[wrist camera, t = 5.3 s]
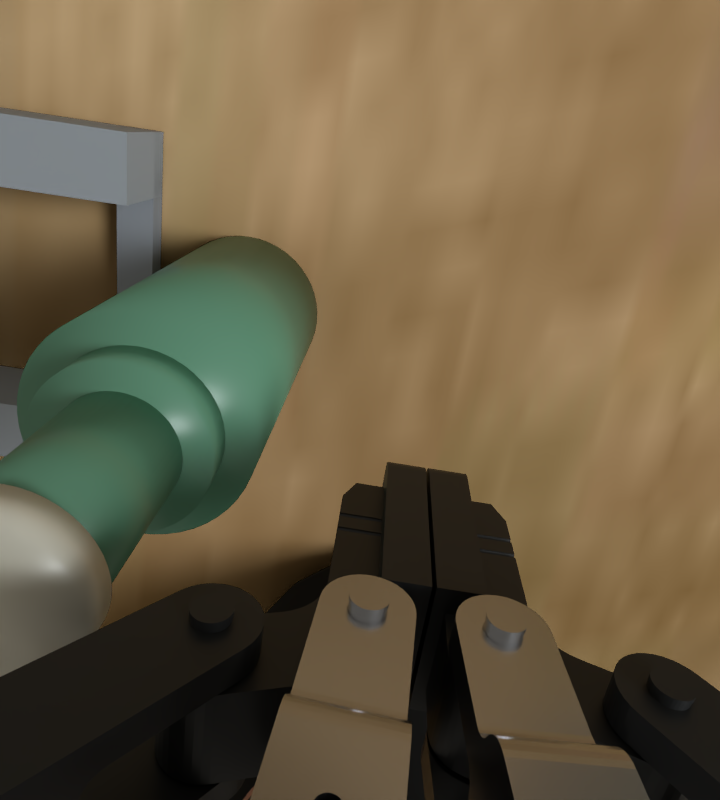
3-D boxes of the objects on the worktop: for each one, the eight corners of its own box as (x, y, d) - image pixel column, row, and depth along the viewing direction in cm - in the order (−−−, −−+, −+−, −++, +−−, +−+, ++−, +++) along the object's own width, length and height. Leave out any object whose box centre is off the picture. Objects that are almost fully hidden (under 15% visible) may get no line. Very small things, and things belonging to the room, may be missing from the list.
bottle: (325, 248, 22) (174, 470, 8) (308, 389, 24) (164, 776, 10) (173, 225, 22) (-261, 403, 8) (169, 368, 24) (-181, 722, 10)
